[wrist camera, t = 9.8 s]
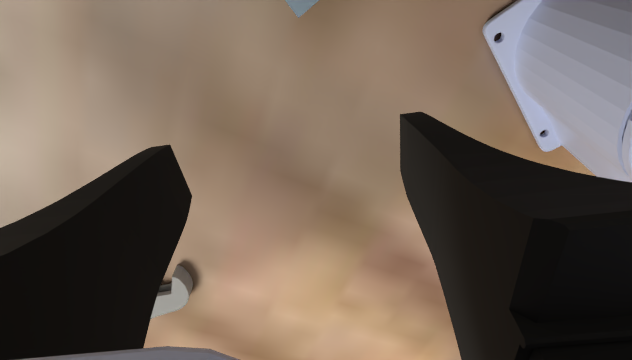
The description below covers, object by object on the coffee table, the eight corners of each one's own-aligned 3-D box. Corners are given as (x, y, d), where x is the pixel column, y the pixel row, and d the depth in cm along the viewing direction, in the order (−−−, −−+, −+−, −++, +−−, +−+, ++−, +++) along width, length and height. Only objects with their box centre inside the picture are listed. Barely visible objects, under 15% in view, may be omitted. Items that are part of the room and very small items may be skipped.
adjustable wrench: (91, 379, 42) (83, 395, 41) (34, 358, 40) (23, 375, 38) (205, 277, 31) (199, 294, 30) (136, 240, 29) (126, 257, 27)
